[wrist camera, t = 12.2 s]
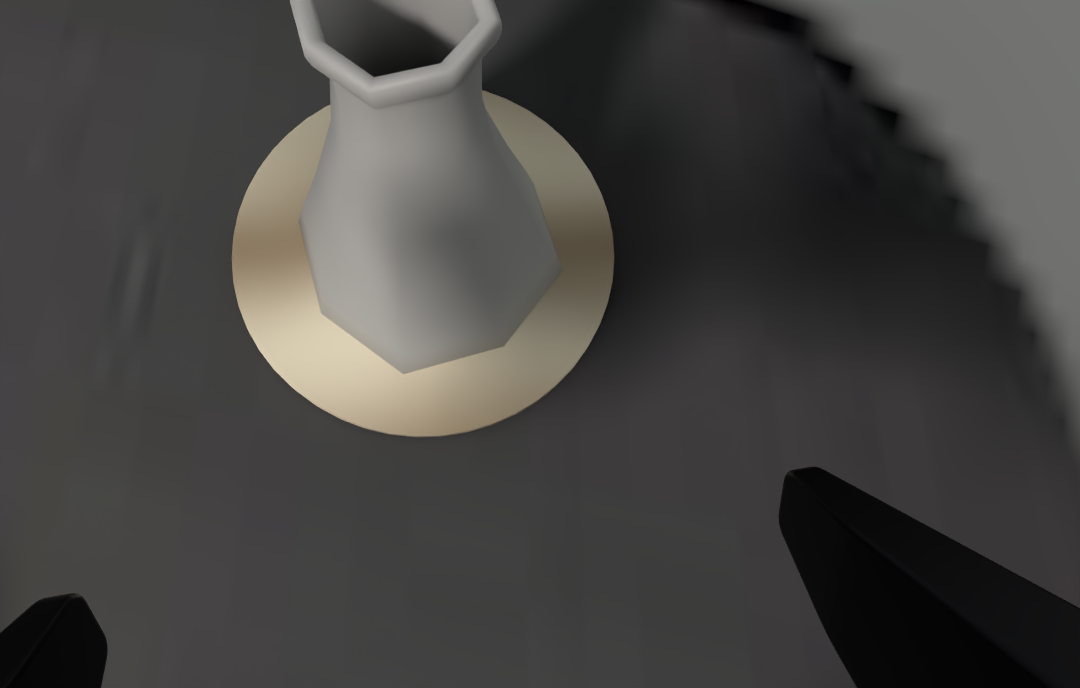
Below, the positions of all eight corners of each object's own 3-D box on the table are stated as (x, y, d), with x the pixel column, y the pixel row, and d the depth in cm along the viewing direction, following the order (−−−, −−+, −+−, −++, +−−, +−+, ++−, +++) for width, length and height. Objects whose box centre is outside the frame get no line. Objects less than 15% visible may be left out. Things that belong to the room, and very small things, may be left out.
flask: (465, 99, 22) (456, -243, 12) (604, 281, 21) (717, 62, 11) (256, 217, 20) (55, -69, 11) (394, 422, 19) (311, 310, 9)
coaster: (652, 391, 21) (657, 386, 20) (267, 477, 19) (260, 476, 18) (562, 70, 23) (564, 58, 22) (216, 122, 21) (209, 111, 21)
